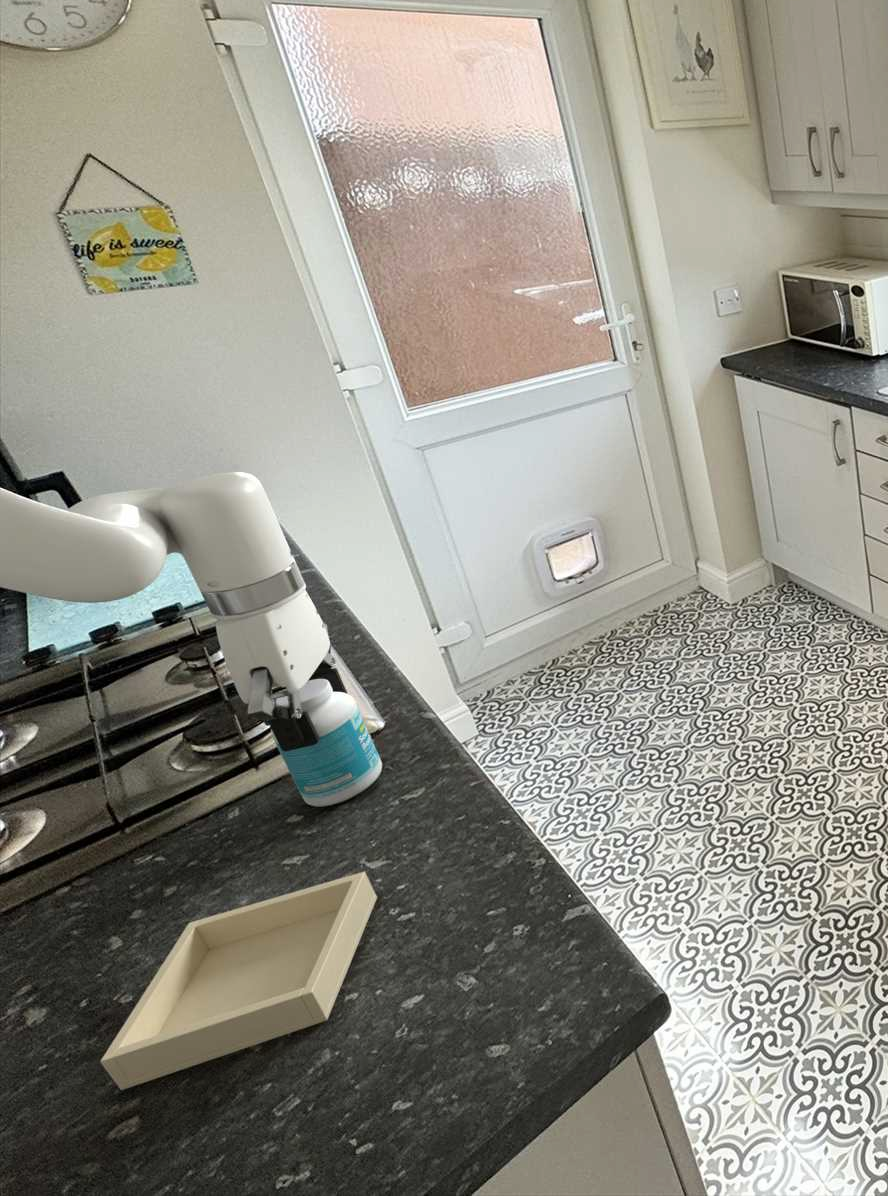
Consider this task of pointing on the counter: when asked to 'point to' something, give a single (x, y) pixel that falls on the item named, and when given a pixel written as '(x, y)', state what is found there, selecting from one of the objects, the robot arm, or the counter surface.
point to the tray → (243, 980)
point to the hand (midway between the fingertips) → (316, 721)
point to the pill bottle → (331, 748)
